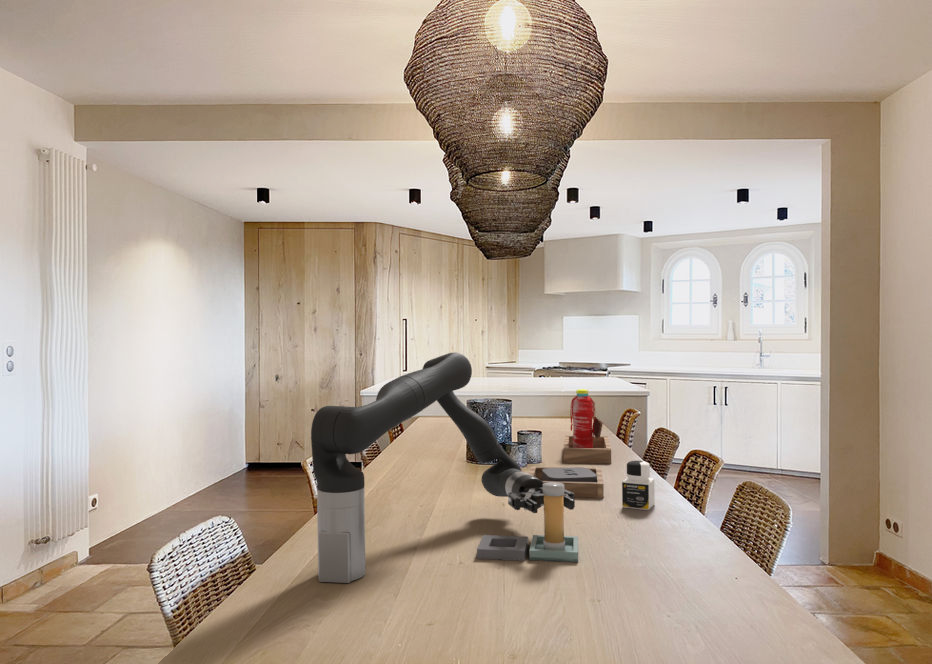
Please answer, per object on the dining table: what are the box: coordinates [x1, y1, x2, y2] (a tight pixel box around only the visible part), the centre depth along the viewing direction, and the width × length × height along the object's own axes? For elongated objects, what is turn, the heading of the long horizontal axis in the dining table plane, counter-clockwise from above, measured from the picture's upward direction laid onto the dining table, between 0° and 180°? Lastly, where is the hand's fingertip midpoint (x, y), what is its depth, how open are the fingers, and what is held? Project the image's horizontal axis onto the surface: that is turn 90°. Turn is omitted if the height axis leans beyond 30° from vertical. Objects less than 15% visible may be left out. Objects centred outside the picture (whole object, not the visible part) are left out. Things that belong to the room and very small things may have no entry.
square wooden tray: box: [528, 466, 605, 499], centre depth 208 cm, size 22×22×4 cm
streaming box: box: [542, 466, 597, 482], centre depth 207 cm, size 14×14×5 cm
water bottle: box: [569, 388, 604, 448], centre depth 261 cm, size 12×8×25 cm, turn 80°
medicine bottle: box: [621, 460, 656, 511], centre depth 186 cm, size 7×7×12 cm
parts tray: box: [529, 534, 579, 563], centre depth 148 cm, size 11×10×2 cm
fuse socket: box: [476, 534, 529, 561], centre depth 149 cm, size 10×10×2 cm
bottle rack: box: [562, 435, 612, 464], centre depth 261 cm, size 30×17×5 cm, turn 171°
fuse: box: [543, 482, 565, 550], centre depth 148 cm, size 5×5×14 cm
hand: (554, 506), depth 148 cm, fingers open, 8 cm apart
